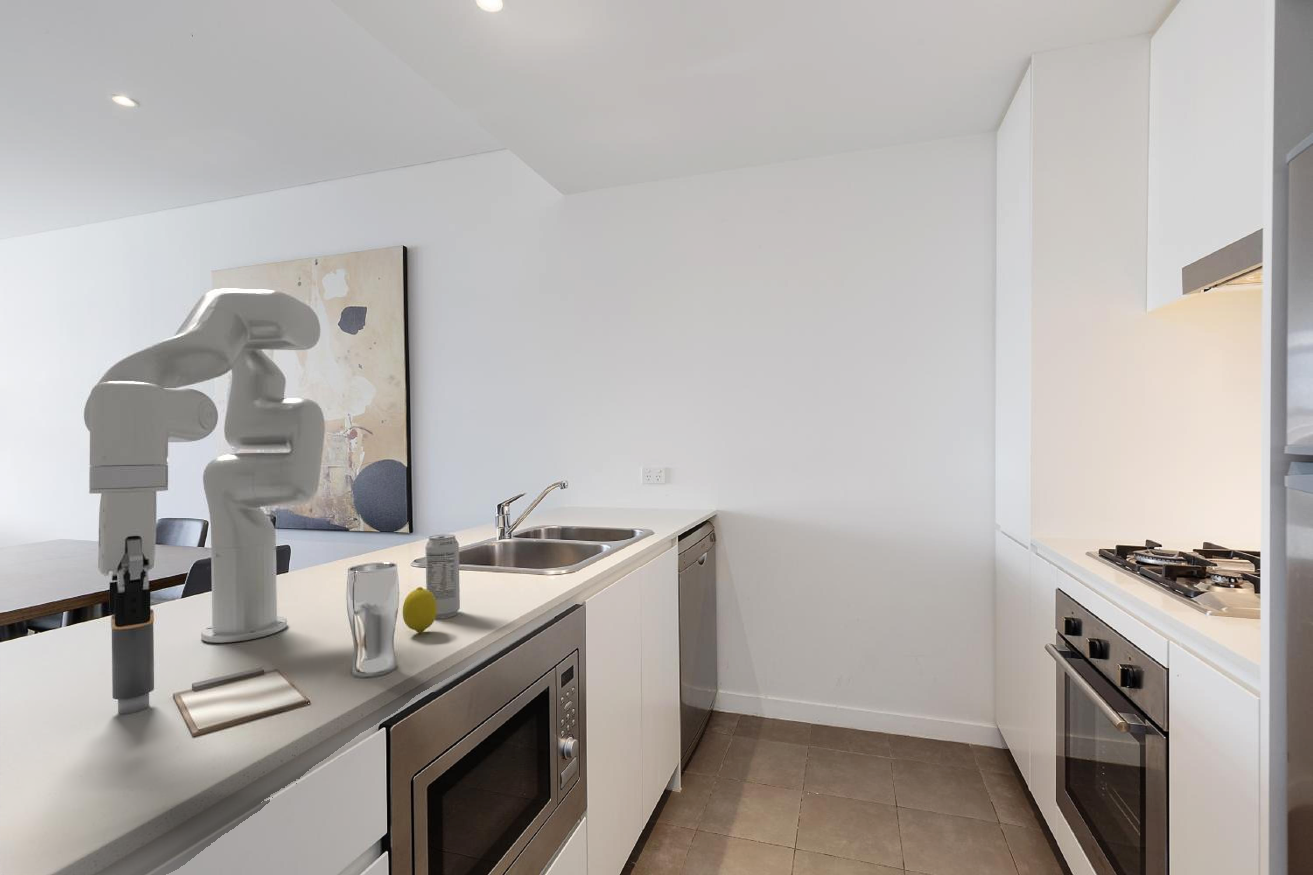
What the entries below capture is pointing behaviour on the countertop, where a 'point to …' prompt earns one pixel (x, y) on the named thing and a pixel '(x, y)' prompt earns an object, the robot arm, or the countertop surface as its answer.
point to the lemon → (419, 609)
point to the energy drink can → (443, 573)
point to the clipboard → (237, 699)
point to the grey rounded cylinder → (132, 665)
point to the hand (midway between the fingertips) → (129, 617)
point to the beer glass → (373, 617)
